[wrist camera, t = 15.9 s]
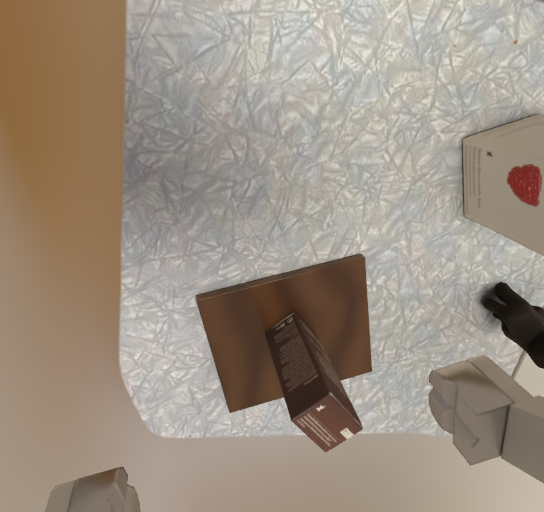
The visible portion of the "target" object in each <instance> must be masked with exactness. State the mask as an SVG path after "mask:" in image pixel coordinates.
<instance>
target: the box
mask: <svg viewBox="0 0 544 512" xmlns="http://www.w3.org/2000/svg"><path fill="white" fill-rule="evenodd" d="M265 337H266V340H267V343H268V347H269V350H270V353H271V357H272V360H273V363H274V366H275V369H276V372H277V375H278V379H279V382H280V385H281V388H282V392H283V395H284V398H285V401H286V404H287V408H288V411H289V414H290V418H291V421H292V422H293V423H294V424H295V425H296V426H297V427H298V428H300V429H301V430H302V431H303V432H304V433H305V434H306V435H307V436H308V437H309V438H310V439H312V440H313V441H314V442H315V443H316V444H317V445H318V446H319V447H320V448H321V449H323V450H324V451H325V452H327V451H329V450H330V449H332V448H334V447H336V446H337V445H339V444H340V443H342V442H343V441H345V440H346V439H348V438H350V437H351V436H353V435H354V434H356V433H357V432H359V431H361V430H362V429H363V427H362V424H361V422H360V420H359V418H358V416H357V414H356V412H355V410H354V408H353V406H352V404H351V402H350V400H349V398H348V396H347V394H346V392H345V390H344V388H343V385H342V383H341V381H340V379H339V377H338V375H337V373H336V371H335V369H334V367H333V365H332V363H331V361H330V359H329V357H328V355H327V353H326V351H325V349H324V347H323V345H322V343H321V342H320V340H319V339H318V338H317V337H316V336H315V334H314V333H313V332H312V331H311V330H310V329H309V327H308V326H307V325H306V324H305V323H304V321H303V320H302V319H301V318H300V317H299V316H298V315H297V314H296V313H295V312H294V313H292V314H290V315H288V316H287V317H286V318H285V319H283V320H282V321H280V322H279V323H278V324H276V325H275V326H274V327H273V328H271V329H270V330H268V331H267V332H266V333H265Z"/></svg>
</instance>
